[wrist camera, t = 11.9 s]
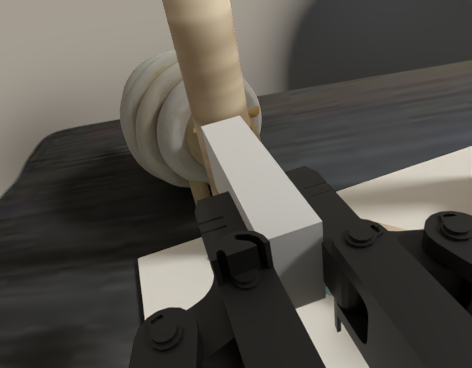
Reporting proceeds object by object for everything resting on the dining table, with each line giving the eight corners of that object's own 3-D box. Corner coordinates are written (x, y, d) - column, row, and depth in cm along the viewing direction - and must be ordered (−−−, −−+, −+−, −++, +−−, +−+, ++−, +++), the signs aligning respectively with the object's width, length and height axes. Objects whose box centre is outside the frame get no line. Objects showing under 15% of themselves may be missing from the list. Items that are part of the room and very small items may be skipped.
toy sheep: (205, 258, 25) (158, 105, 19) (113, 170, 37) (65, 58, 31) (315, 185, 30) (307, 41, 23) (201, 128, 41) (175, 22, 35)
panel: (461, 272, 20) (620, -350, 8) (449, 323, 18) (643, -423, 6) (237, 208, 27) (157, -163, 16) (209, 238, 25) (93, -166, 14)
